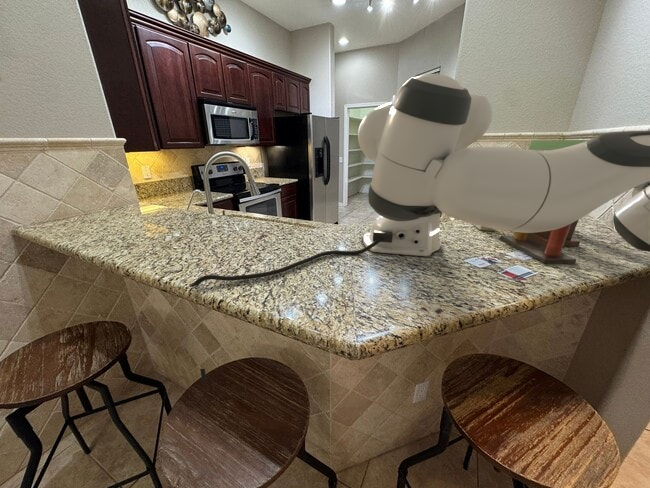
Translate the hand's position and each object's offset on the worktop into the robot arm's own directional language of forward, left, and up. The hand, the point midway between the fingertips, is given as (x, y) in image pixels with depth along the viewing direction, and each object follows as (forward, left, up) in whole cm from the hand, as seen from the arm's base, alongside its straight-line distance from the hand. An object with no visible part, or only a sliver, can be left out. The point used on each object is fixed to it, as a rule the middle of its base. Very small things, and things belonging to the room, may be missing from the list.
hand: (617, 144), depth 54 cm
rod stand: (0, +11, -29) cm, 31 cm away
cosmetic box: (-3, +31, -29) cm, 43 cm away
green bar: (0, +9, -2) cm, 9 cm away
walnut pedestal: (+11, +22, -29) cm, 38 cm away
